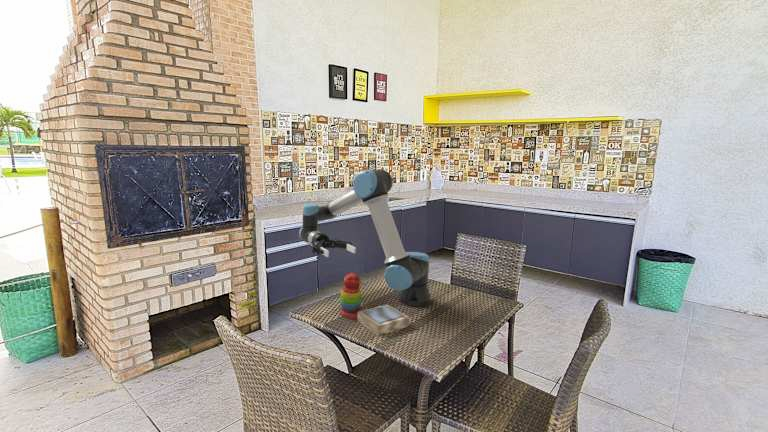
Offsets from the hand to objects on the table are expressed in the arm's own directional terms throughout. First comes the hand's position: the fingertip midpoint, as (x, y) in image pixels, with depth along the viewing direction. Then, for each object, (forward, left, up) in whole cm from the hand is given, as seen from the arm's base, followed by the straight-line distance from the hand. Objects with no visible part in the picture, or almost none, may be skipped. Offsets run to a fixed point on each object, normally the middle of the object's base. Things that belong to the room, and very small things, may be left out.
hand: (341, 252), depth 166 cm
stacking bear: (0, +9, -25) cm, 27 cm away
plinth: (-6, +24, -25) cm, 35 cm away
